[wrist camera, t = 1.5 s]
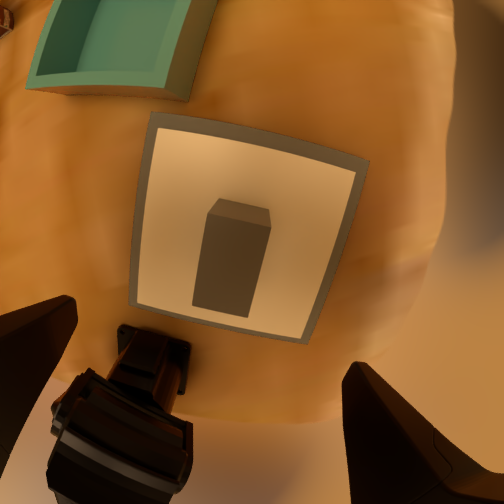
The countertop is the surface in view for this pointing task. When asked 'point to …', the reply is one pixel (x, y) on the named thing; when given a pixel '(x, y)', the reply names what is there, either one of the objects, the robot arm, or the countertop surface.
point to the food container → (5, 21)
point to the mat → (258, 139)
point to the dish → (121, 48)
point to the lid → (238, 231)
